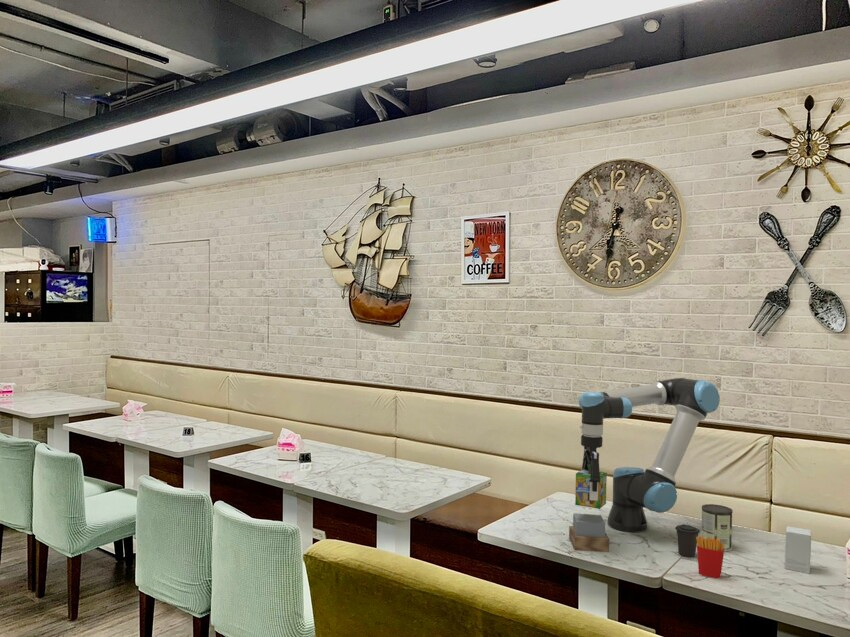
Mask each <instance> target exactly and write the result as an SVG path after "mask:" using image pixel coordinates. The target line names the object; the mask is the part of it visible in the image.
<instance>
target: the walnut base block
mask: <svg viewBox="0 0 850 637" xmlns="http://www.w3.org/2000/svg"><path fill="white" fill-rule="evenodd" d="M568 529H569V530H568V532H569V534H568V539H569V541H570V543H571V546H572V547H573V550H574V551H584V552H599V553H600V552H604V553H610V537H609V535H607V533H606V532H605V538H600V537H586V536H576V534H575V531H574V528H573V525H569V528H568Z"/></svg>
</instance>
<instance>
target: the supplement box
mask: <svg viewBox="0 0 850 637" xmlns="http://www.w3.org/2000/svg"><path fill="white" fill-rule="evenodd" d="M784 542H785V545H784V569H785V570H789V571H790V570H791V571H794V572H799V573H805V574H810V572H811V552H812V530H811V529H806V528H801V527H793V526H789V525H787V526H786V529H785V540H784Z"/></svg>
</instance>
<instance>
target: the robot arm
mask: <svg viewBox="0 0 850 637" xmlns="http://www.w3.org/2000/svg"><path fill="white" fill-rule="evenodd" d="M720 397H721V396H720V394H719V390H718V388H717V386H716V385H715V384H714V383H712V382H709V381H706V380H701V379H699V380H698V379H691V378H683V377H676V378H670V379H665V380H659V381H653V382H652V383H651V384H649V385H641V386H635V387H628V388H622V389H615V390H609V391H602V392H595V391H588V392H587V391H586V392H584V393H582V394H581V395H580V396H579V399H578V405H579V407H580V409H581V425H580V426H579V428H580V429H581V430H580V431H581V436H580V445H581V446H582V447H583V448H584V449H583V458H582V464H581V465H582V466H581V470H583V469H585V470H588V466H587V464H589V465H590V466H589V469H590V475H591V480H589V482H590V500H596V501H598V482H600V472H601V471H600V453H599V452H597V448H598V449H599V448H603V434H604V419H606V420H607V419H625V418H629V417H630V416H631V415H632V413H633V408H635V407H641V406H646V405H647V406H648V405H653V404H654V405H657V406H665V405H666V406H674V407H675V410H676V413H675V415H674V418H673V420H672V422H671V424H670V426H669V429H668V431H667V432H666V435H665V437H664V439H663V442H662V443H661V446H660V448H659V450H658V452H657V454H656V456H655V459H654V461H653V462H652V465H651V467H647V468H645V469H644V468H642V467H633V466H632V467H631V466H630V467H629V466H628V467H626V466H624V467H617V468H615V469H614V471H613V476H612V504H611V507H610V511H609V512H608V513H609V514H608V516H607V526H609V527H610V528H613V529H614V530H619V531H622V532H631V533H638V532H645V531H647V530H648V520H647V517H646V514H645V510H644V508H645V509H646V510H648V511H651V512H656V513H661V514H662V513H666V512H668V511H669V510H671V509H672V508H673V507H674V506H675V504H676V502H677V499H678V493H677V491H678V490H677V488H676V484H677V482H676V480H675V476H676V475H677V471H678V469H679V467H680V465H681V463H682V460H683V458H684V456H685V454H686V451H687V449H688V447H689V445H690V442H691V440H692V438H693V437H694V434H695V431H696V429H697V427H698V425H699V422H701V421H704V420H705V419H706V417H707V415H708V414H710V413H713V412H715V411H717V409H718V408H719V405H720V401H721V398H720Z"/></svg>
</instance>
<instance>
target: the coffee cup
mask: <svg viewBox="0 0 850 637" xmlns="http://www.w3.org/2000/svg"><path fill="white" fill-rule="evenodd" d="M674 529H675V530H676V540H677V550H678V551H677V552H678V555H679V556H680V557H683V558H687V559H693V558H695V557H696V554H697V540H696V537H698V538H699V533H701V530H700V529H699V528H698V527H695V526H694V525H693V526H692V525H689V524H685V523H684V524H678V525H676V527H675V528H674Z"/></svg>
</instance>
